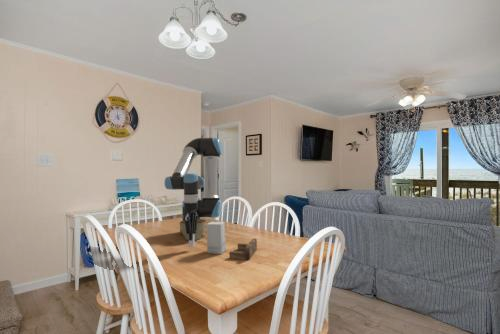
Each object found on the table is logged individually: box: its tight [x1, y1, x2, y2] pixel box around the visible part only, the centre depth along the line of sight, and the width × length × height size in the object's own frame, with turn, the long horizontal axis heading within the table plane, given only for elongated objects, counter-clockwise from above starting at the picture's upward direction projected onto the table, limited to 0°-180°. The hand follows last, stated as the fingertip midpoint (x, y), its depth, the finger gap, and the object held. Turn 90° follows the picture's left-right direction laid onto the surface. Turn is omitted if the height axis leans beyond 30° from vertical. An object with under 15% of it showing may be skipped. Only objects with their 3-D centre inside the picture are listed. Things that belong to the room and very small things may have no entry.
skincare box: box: [205, 221, 227, 255], centre depth 145 cm, size 8×7×16 cm
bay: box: [228, 238, 258, 261], centre depth 142 cm, size 16×10×6 cm, turn 166°
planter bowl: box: [179, 218, 207, 241], centre depth 172 cm, size 16×16×11 cm
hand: (191, 245), depth 149 cm, fingers closed
